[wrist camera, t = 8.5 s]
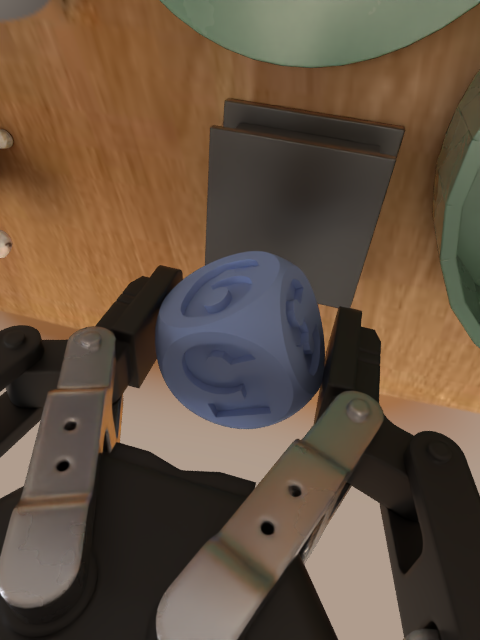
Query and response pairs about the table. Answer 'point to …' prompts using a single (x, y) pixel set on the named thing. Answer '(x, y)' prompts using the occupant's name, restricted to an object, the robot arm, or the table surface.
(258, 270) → the decorative dice
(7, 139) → the bull figurine
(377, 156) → the stand
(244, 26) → the tin lid
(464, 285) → the tin
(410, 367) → the table surface
